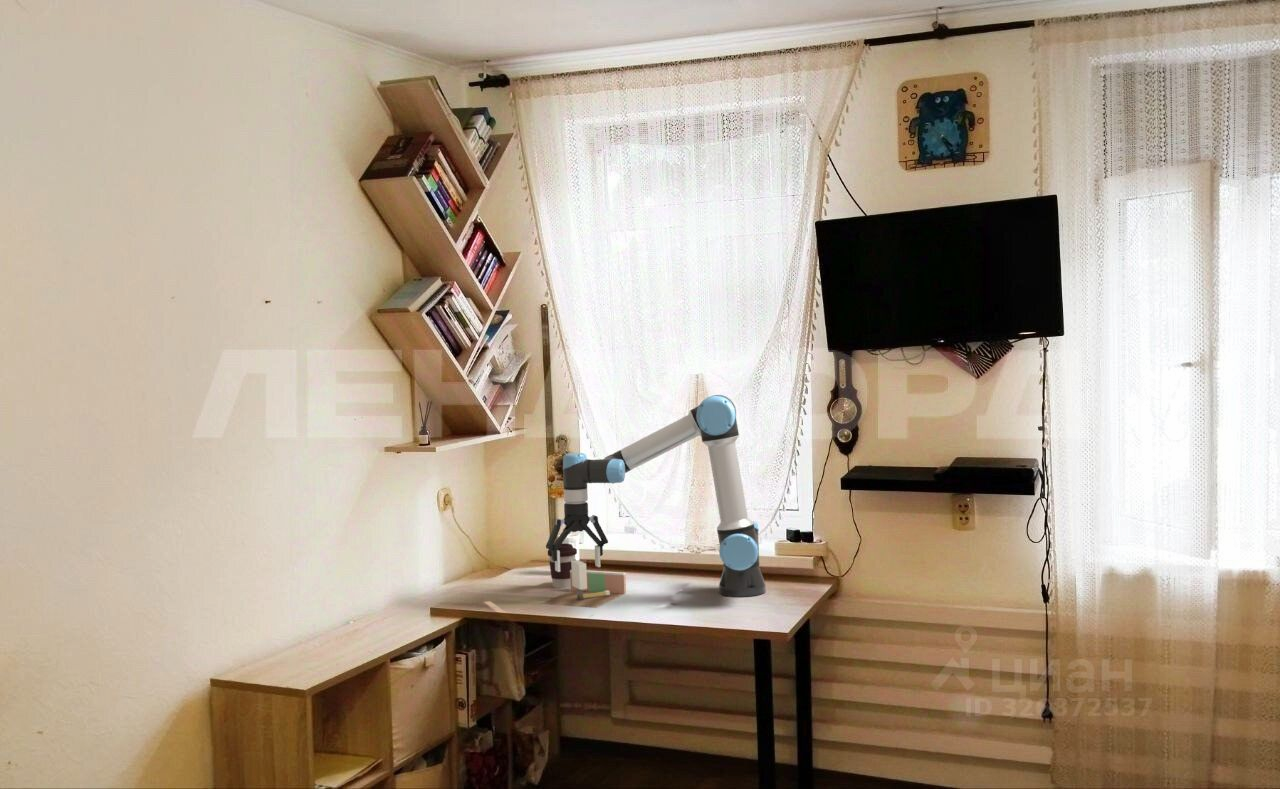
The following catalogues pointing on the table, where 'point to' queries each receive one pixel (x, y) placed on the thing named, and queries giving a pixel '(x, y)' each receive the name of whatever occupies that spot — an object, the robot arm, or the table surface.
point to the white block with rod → (582, 580)
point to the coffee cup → (562, 566)
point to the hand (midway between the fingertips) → (578, 568)
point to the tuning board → (571, 600)
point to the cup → (573, 542)
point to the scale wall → (604, 582)
